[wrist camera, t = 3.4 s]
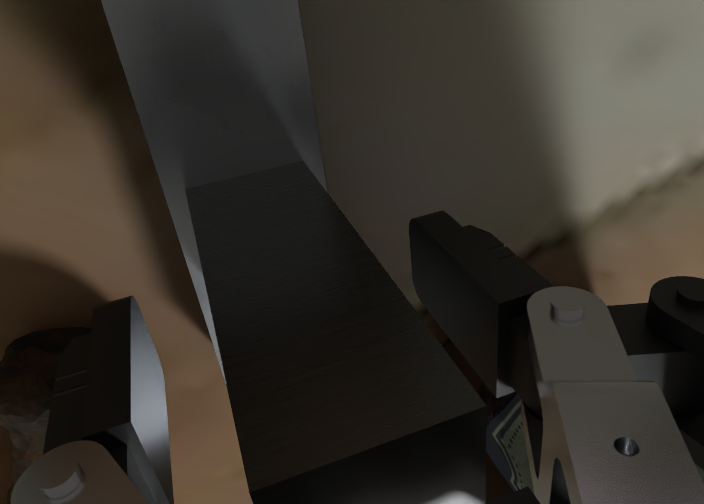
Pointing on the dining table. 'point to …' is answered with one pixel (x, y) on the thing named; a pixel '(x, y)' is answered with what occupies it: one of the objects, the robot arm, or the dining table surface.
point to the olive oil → (502, 436)
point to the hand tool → (30, 392)
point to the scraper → (291, 269)
